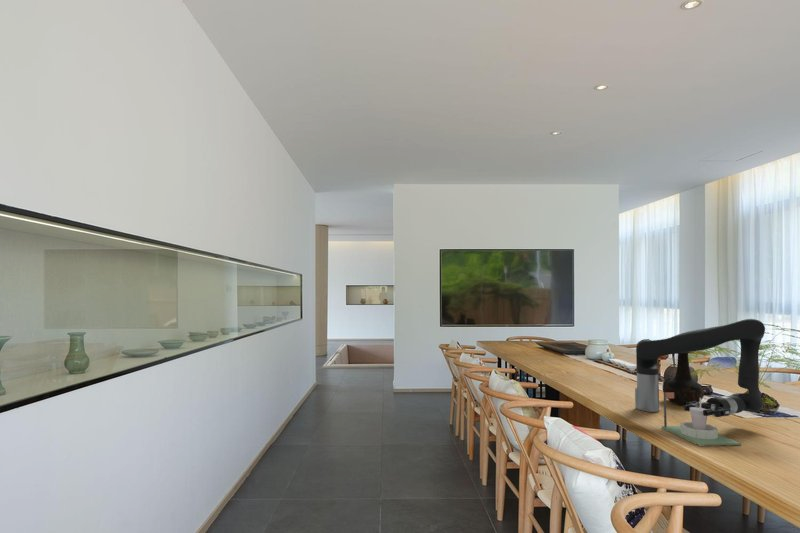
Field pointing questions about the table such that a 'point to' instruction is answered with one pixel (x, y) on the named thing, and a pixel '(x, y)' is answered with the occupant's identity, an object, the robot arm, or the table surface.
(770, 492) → the table surface
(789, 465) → the table surface
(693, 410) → the smoothie
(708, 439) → the practice green
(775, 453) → the table surface
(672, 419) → the table surface
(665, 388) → the glass bottle
